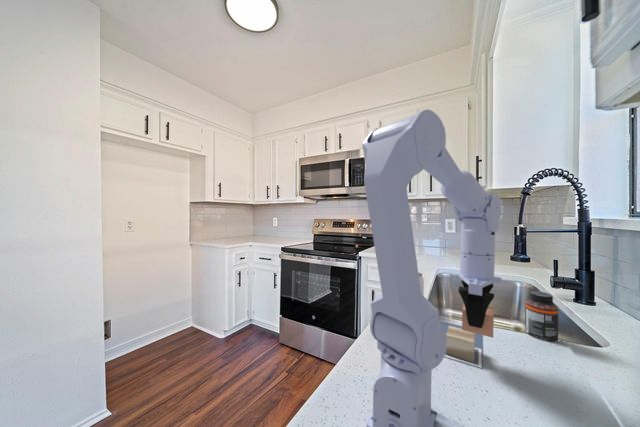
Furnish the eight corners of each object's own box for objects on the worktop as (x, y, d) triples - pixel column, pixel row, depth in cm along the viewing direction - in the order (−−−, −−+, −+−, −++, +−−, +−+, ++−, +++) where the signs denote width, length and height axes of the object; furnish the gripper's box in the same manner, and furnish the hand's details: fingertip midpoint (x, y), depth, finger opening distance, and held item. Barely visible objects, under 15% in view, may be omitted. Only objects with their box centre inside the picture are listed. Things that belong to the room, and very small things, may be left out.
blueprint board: (483, 374, 46) (483, 368, 46) (407, 350, 54) (407, 345, 54) (482, 334, 61) (482, 330, 61) (423, 320, 69) (423, 316, 69)
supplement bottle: (537, 332, 63) (538, 288, 63) (564, 344, 57) (565, 296, 57) (518, 334, 61) (519, 290, 61) (545, 347, 56) (546, 298, 56)
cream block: (474, 362, 48) (474, 342, 48) (445, 353, 51) (446, 334, 51) (474, 350, 52) (474, 332, 52) (448, 343, 55) (448, 325, 55)
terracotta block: (493, 337, 45) (493, 316, 45) (462, 329, 47) (462, 309, 47) (492, 327, 49) (492, 307, 49) (463, 320, 52) (464, 302, 52)
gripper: (504, 261, 40) (503, 343, 40) (500, 250, 52) (498, 313, 52) (456, 256, 44) (454, 330, 44) (462, 247, 56) (461, 305, 56)
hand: (475, 320), depth 48 cm, fingers closed on terracotta block, 5 cm apart
